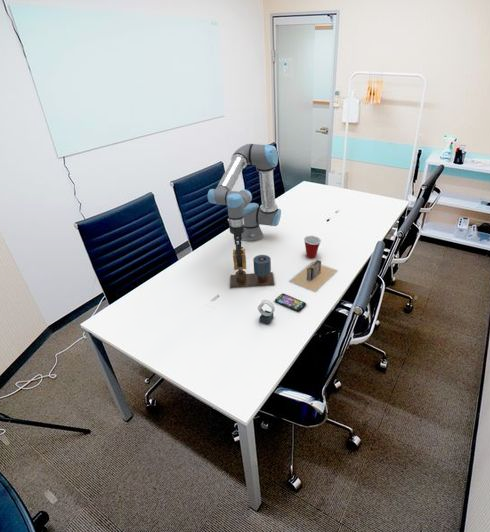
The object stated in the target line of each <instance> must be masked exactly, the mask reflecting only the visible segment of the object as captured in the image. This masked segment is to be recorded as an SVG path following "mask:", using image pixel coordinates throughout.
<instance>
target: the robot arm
mask: <svg viewBox="0 0 490 532" xmlns="http://www.w3.org/2000/svg"><path fill="white" fill-rule="evenodd" d="M278 153H279V152H278V150H277V148H276V147H275V146H274V145H271V144H258V143H257V144H256V143H246V144H244V145H242V146H239V148H238V149H236V150H235V151H234V153H233V154H232V155H231V158H230V161H231V162H230V163H229V164H228V167H227V168H226V170H225V172H224V173H223V175H222V177H221V179H220V180H219V183H218V185H217V186H216V187H215V188H210V189H209V190H208V192H207V201H208V203H209V204H213V205H221V206H227V214H228V218H227V221H228V224H229V225H228V227H229V233H230V234H231V235H233V240H234V245H235V249H236V256H235V258H237V267H243V265H242V256H241V249H244V248H243V246H242V240H243V241H245V242H256V241H259V240H260V239H262V238H263V232H262V228H261V225H262V226H268V227H277V226H278V225H279V223H280V221H281V217H282V209H281V208H279V206H278V204H277V203H276V197H275V196H276V194H275V193H276V192H275V183H274V170H275V169H276V167H277V166H278V163H279V154H278ZM249 165H251V166H255V170H256V171H257V172H258V178H259V188H260V198H261V204H260V206H259V204H258V203H256V202H251V201H252V200H253V195H252V193H251V191H250V190H248V189H240V191H237V190H233V189H234V187H235V185H236V184H237V181H238V179H239V177H240V175H241V173H242V172H243V169H245V168H246V167H247V166H249Z"/></svg>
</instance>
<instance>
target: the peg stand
mask: <svg viewBox="0 0 490 532" xmlns="http://www.w3.org/2000/svg"><path fill="white" fill-rule="evenodd" d="M260 261H264V258H260ZM229 279H230V281H229V282H230V283H229V288H230V289H236V288H253V287H254V288H255V287H267V286H275V281H274V273H273V271H271V272H270V274H268V275H266V276H258V275H256V274H255V273H254V272H251V273H247V271H245V269H242V270H236V271H235V274H230V278H229Z"/></svg>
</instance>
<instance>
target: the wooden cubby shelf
mask: <svg viewBox="0 0 490 532" xmlns="http://www.w3.org/2000/svg"><path fill="white" fill-rule="evenodd" d="M235 256H236V248H235V249H233V250H232V260H233V271H238V270H242V269H243V270H247V257H246V249H245V248H243V249H241V256H242V265H243V267H237V258H235Z"/></svg>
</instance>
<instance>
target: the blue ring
mask: <svg viewBox="0 0 490 532" xmlns="http://www.w3.org/2000/svg"><path fill="white" fill-rule="evenodd" d="M260 258H264V261H260ZM252 260H253V273H255V274H256V275H258V276H266V275H268V274H270V272H272V261H271V257H270V256H269V255H266V254H258V255H256V256H254V257H253V259H252Z"/></svg>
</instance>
